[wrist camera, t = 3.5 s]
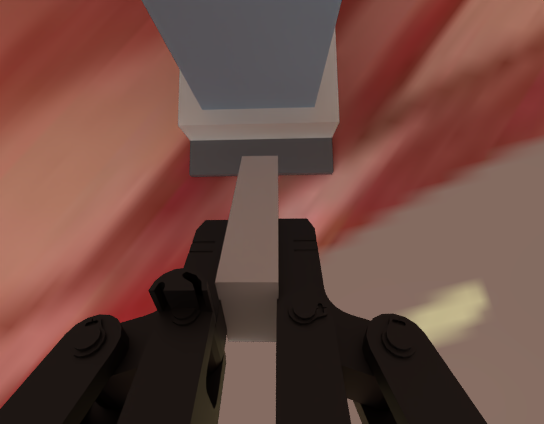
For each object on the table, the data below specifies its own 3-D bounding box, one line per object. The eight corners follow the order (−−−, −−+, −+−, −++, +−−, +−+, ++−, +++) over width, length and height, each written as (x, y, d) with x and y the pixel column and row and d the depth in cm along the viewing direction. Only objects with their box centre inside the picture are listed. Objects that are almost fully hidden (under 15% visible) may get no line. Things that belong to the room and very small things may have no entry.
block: (202, 109, 18) (124, -30, 9) (203, 22, 19) (134, -188, 10) (314, 107, 18) (351, -38, 9) (311, 19, 18) (342, -197, 9)
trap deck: (191, 176, 20) (176, 164, 17) (197, -91, 23) (185, -141, 20) (331, 174, 20) (341, 161, 17) (321, -96, 23) (327, -147, 20)
